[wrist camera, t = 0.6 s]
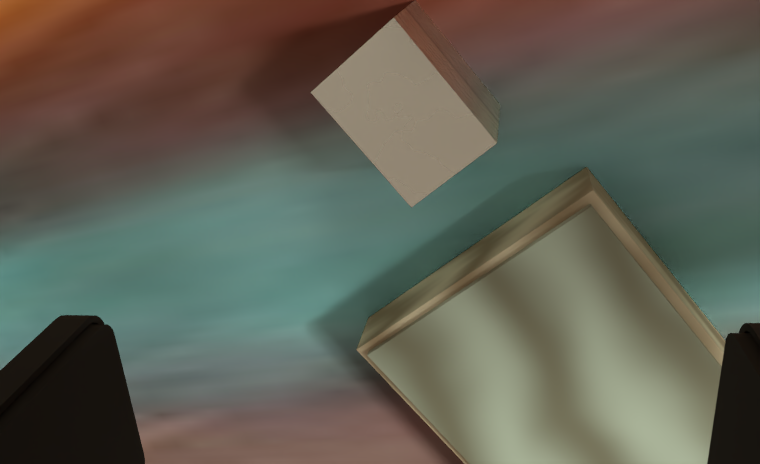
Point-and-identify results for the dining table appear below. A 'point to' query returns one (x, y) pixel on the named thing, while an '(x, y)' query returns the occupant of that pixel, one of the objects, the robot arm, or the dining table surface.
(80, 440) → the robot arm
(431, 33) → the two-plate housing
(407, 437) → the dining table surface
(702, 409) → the wooden stand
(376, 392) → the dining table surface
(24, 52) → the dining table surface
